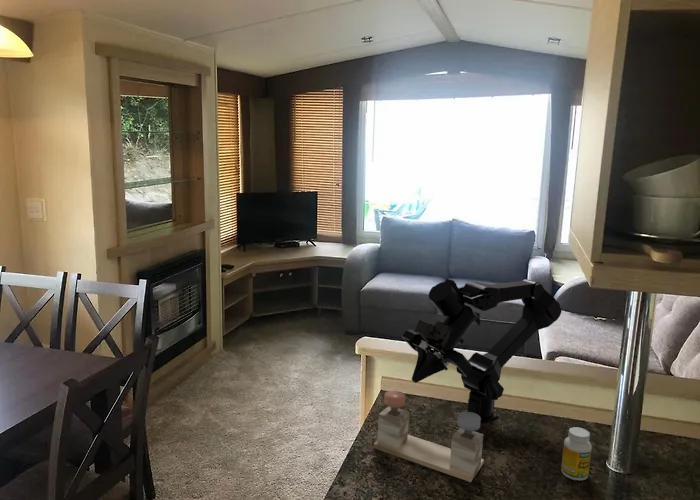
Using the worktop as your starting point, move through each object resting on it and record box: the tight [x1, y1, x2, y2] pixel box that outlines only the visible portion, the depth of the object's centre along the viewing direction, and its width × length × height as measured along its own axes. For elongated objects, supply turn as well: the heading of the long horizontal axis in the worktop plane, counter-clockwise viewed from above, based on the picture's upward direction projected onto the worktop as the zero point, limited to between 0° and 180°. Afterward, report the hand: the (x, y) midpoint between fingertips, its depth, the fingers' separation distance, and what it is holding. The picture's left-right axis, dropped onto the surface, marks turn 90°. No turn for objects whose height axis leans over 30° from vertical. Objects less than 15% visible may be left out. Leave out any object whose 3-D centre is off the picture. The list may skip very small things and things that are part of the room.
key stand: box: [372, 406, 485, 483], centre depth 123 cm, size 8×22×8 cm, turn 59°
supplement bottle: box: [560, 426, 593, 482], centre depth 117 cm, size 5×5×10 cm
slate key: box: [456, 411, 481, 434], centre depth 117 cm, size 5×5×3 cm
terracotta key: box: [383, 390, 406, 411], centre depth 126 cm, size 5×5×3 cm
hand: (413, 381), depth 128 cm, fingers closed
